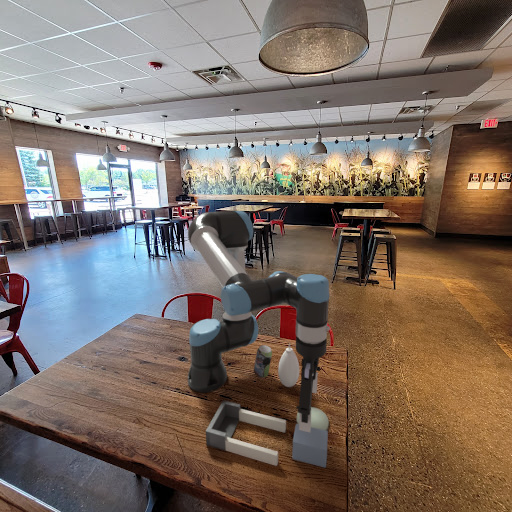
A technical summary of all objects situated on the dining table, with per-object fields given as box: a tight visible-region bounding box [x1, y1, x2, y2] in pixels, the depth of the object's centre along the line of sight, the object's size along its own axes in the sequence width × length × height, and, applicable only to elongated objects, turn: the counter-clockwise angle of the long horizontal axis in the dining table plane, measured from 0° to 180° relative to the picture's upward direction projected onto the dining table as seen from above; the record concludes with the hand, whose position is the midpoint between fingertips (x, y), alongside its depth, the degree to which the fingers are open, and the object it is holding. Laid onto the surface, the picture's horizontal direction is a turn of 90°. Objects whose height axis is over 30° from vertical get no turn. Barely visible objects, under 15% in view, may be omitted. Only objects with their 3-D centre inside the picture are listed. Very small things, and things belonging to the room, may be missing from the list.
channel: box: [225, 408, 287, 467], centre depth 79 cm, size 15×12×4 cm
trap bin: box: [205, 399, 241, 452], centre depth 82 cm, size 6×12×5 cm, turn 162°
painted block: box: [291, 423, 329, 469], centre depth 75 cm, size 9×6×6 cm, turn 74°
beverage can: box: [253, 344, 273, 378], centre depth 106 cm, size 6×7×12 cm
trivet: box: [296, 406, 330, 431], centre depth 86 cm, size 10×10×1 cm
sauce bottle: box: [277, 342, 300, 388], centre depth 100 cm, size 8×8×18 cm
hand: (308, 409), depth 71 cm, fingers open, 13 cm apart
